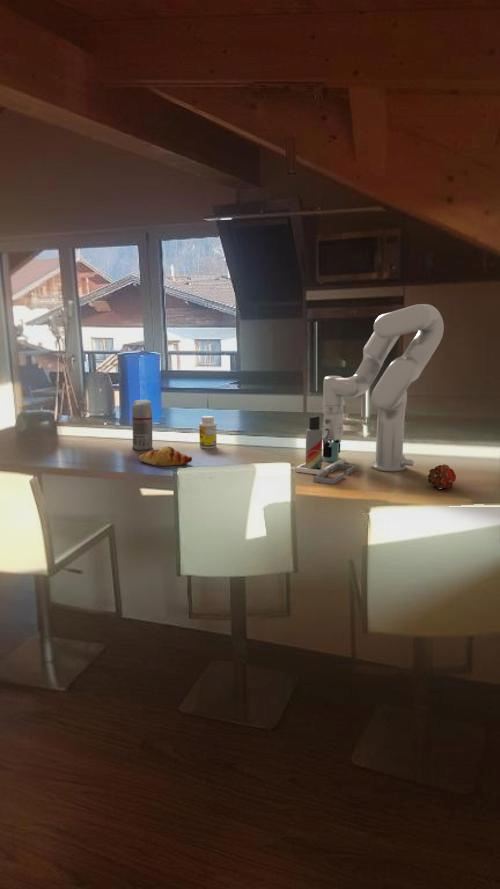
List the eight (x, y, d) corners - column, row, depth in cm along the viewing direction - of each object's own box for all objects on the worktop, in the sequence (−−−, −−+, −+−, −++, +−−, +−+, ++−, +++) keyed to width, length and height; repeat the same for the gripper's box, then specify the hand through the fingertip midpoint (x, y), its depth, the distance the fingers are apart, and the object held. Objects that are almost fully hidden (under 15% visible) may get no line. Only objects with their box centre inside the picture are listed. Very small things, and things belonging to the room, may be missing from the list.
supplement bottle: (198, 445, 281) (198, 415, 279) (215, 445, 283) (215, 415, 280) (200, 449, 275) (200, 418, 272) (217, 448, 276) (217, 417, 273)
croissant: (136, 472, 252) (131, 456, 247) (145, 455, 259) (140, 439, 254) (190, 475, 246) (186, 458, 242) (197, 457, 254) (193, 440, 249)
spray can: (157, 447, 277) (156, 399, 273) (144, 451, 270) (142, 402, 266) (142, 445, 282) (140, 398, 277) (128, 449, 275) (126, 400, 271)
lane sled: (345, 462, 253) (345, 443, 252) (322, 475, 234) (323, 455, 232) (319, 458, 258) (319, 441, 257) (295, 471, 239) (295, 452, 237)
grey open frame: (355, 469, 242) (356, 465, 241) (333, 484, 223) (333, 479, 222) (337, 467, 245) (337, 463, 245) (313, 481, 226) (313, 477, 226)
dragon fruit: (436, 497, 213) (439, 493, 224) (460, 484, 210) (462, 480, 222) (421, 474, 214) (425, 471, 226) (445, 461, 212) (448, 458, 223)
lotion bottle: (316, 474, 236) (317, 417, 232) (302, 471, 239) (303, 416, 235) (324, 470, 240) (325, 415, 236) (310, 468, 243) (311, 414, 239)
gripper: (333, 413, 242) (332, 460, 245) (350, 406, 256) (349, 451, 260) (314, 411, 245) (313, 458, 249) (332, 405, 260) (330, 449, 264)
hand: (331, 454), depth 254 cm, fingers open, 8 cm apart
